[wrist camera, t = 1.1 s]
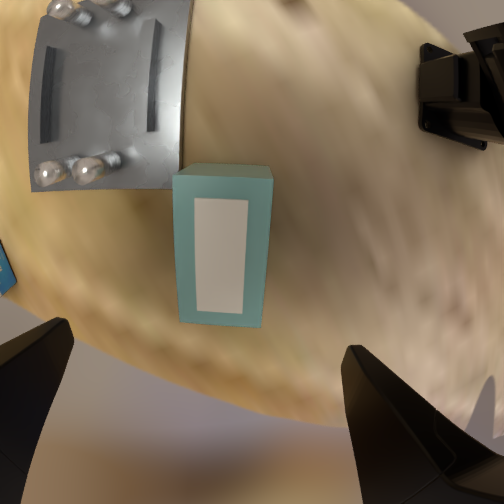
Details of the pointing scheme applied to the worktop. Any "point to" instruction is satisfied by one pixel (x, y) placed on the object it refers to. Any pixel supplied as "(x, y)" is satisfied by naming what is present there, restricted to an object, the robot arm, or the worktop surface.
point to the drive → (221, 242)
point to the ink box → (5, 274)
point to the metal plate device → (108, 94)
